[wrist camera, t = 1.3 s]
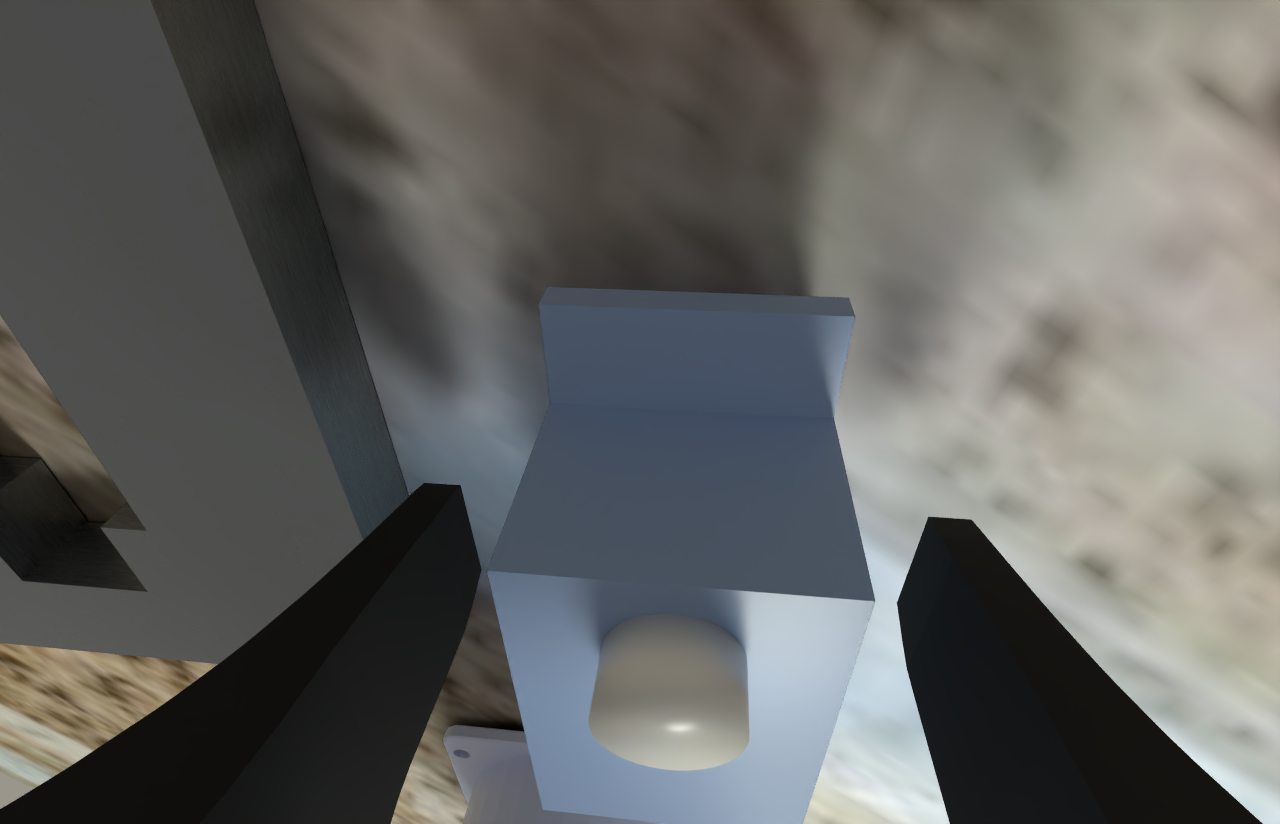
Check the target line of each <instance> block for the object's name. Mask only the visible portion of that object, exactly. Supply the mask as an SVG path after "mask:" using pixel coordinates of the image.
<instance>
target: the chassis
mask: <svg viewBox="0 0 1280 824" xmlns="http://www.w3.org/2000/svg"><path fill="white" fill-rule="evenodd" d="M0 315H1V317H2V318H3V319H4V321H5V322H6V324H7V325H8V327H9V328H10V330H11V331H12V333H13V334H14V336H15V337H16V339H17V340H18V342H19V343H20V345H21V346H22V347H23V349H24V350H25V352H26V353H27V355H28V356H29V358H30V359H31V361H32V362H33V364H34V365H35V367H36V368H37V370H38V371H39V373H40V374H41V375H42V377H43V378H44V380H45V381H46V383H47V384H48V386H49V387H50V389H51V390H52V392H53V393H54V395H55V396H56V398H57V399H58V401H59V402H60V403H61V405H62V406H63V408H64V409H65V411H66V412H67V414H68V415H69V417H70V418H71V420H72V421H73V423H74V424H75V426H76V427H77V429H78V430H79V431H80V433H81V434H82V436H83V437H84V439H85V440H86V442H87V443H88V445H89V446H90V448H91V449H92V451H93V452H94V454H95V455H96V457H97V458H98V459H99V461H100V462H101V464H102V465H103V467H104V468H105V470H106V471H107V473H108V474H109V476H110V477H111V479H112V480H113V482H114V483H115V485H116V486H117V487H118V489H119V490H120V492H121V493H122V495H123V496H124V498H125V499H126V501H127V503H126V504H125V505H124V506H123V507H121V508H120V509H119V510H118V511H117V512H116V513H115V514H114V515H113V516H112V517H111V518H110V519H109V520H108V521H107V522H106V523H100V522H87V520H86V519H85V518H84V516H83V515H82V514H81V512H80V511H79V510H78V508H77V507H76V506H75V504H74V503H73V502H72V500H71V499H70V498H69V496H68V495H67V494H66V492H65V491H64V490H63V488H62V487H61V486H60V484H59V483H58V482H57V480H56V479H55V478H54V476H53V475H52V474H51V472H50V471H49V470H48V468H47V467H46V466H45V464H44V463H43V461H42V460H41V459H35V458H20V457H5V456H0V643H8V644H18V645H28V646H39V647H49V648H59V649H70V650H80V651H90V652H101V653H111V654H121V655H132V656H142V657H152V658H163V659H173V660H183V661H194V662H204V663H214V664H219V663H221V662H222V661H223V660H224V659H226V658H227V657H228V656H230V655H231V654H232V653H233V652H235V651H236V650H237V649H238V648H240V647H241V646H242V645H243V644H245V643H246V642H247V641H248V640H250V639H251V638H252V637H253V636H255V635H256V634H257V633H258V632H259V631H261V630H262V629H263V628H264V627H265V626H267V625H268V624H269V623H270V622H271V621H272V620H274V619H275V618H276V617H277V616H278V615H280V614H281V613H282V612H283V611H284V610H286V609H287V608H288V607H289V606H290V605H291V604H293V603H294V602H295V601H296V600H297V599H299V598H300V597H301V596H302V595H303V594H304V593H305V592H307V591H308V590H309V589H310V588H311V587H312V586H313V585H315V584H316V583H317V582H318V581H319V580H320V579H321V578H322V577H323V576H324V575H326V574H327V573H328V572H329V571H330V570H331V569H332V568H333V567H334V566H335V565H336V564H338V563H339V562H340V561H341V560H342V559H343V558H344V557H345V556H346V555H347V554H349V553H350V552H351V551H352V550H353V549H354V548H355V547H356V546H357V545H358V544H359V543H360V542H361V541H362V540H364V539H365V538H366V537H367V536H368V535H369V534H370V533H371V532H372V531H373V530H374V529H375V528H376V527H377V526H378V525H379V524H380V523H382V522H383V521H384V520H385V519H386V518H387V517H388V516H389V515H390V514H391V513H392V512H393V511H394V510H395V509H396V508H397V507H398V506H399V505H400V504H402V503H403V502H404V501H405V500H406V499H407V498H408V497H409V496H408V493H407V490H406V487H405V484H404V480H403V477H402V474H401V471H400V468H399V465H398V461H397V458H396V455H395V452H394V449H393V445H392V442H391V439H390V436H389V433H388V429H387V426H386V423H385V420H384V417H383V414H382V410H381V407H380V404H379V401H378V398H377V394H376V391H375V388H374V385H373V382H372V378H371V375H370V372H369V369H368V366H367V363H366V359H365V356H364V353H363V350H362V347H361V343H360V340H359V337H358V334H357V331H356V327H355V324H354V321H353V318H352V315H351V312H350V308H349V305H348V302H347V299H346V296H345V292H344V289H343V286H342V283H341V280H340V276H339V273H338V270H337V267H336V264H335V261H334V257H333V254H332V251H331V248H330V245H329V241H328V238H327V235H326V232H325V229H324V225H323V222H322V219H321V216H320V213H319V210H318V206H317V203H316V200H315V197H314V194H313V190H312V187H311V184H310V181H309V178H308V174H307V171H306V168H305V165H304V162H303V159H302V155H301V152H300V149H299V146H298V143H297V139H296V136H295V133H294V130H293V127H292V124H291V120H290V117H289V114H288V111H287V108H286V104H285V101H284V98H283V95H282V92H281V88H280V85H279V82H278V79H277V76H276V73H275V69H274V66H273V63H272V60H271V57H270V53H269V50H268V47H267V44H266V41H265V37H264V34H263V31H262V28H261V25H260V22H259V18H258V15H257V12H256V9H255V6H254V2H253V0H0Z"/></svg>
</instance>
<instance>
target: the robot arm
mask: <svg viewBox="0 0 1280 824" xmlns="http://www.w3.org/2000/svg"><path fill="white" fill-rule="evenodd" d="M480 573H481V566H480V562H479V558H478V554H477V550H476V546H475V542H474V538H473V534H472V530H471V526H470V522H469V518H468V514H467V510H466V506H465V502H464V498H463V494H462V490H461V486H460V485H447V484H432V483H423V484H422V485H421V486H420V487H419V488H418V489H417V490H416V491H415V492H413V493H412V494H411V495H410V496H409V497H408V498H407V499H406V500H405V501H404V502H403V503H402V504H400V505H399V506H398V507H397V508H396V509H395V510H394V511H393V512H392V513H391V514H390V515H389V516H388V517H387V518H386V519H385V520H384V521H383V522H382V523H380V524H379V525H378V526H377V527H376V528H375V529H374V530H373V531H372V532H371V533H370V534H369V535H368V536H367V537H366V538H365V539H364V540H362V541H361V542H360V543H359V544H358V545H357V546H356V547H355V548H354V549H353V550H352V551H351V552H350V553H349V554H347V555H346V556H345V557H344V558H343V559H342V560H341V561H340V562H339V563H338V564H336V565H335V566H334V567H333V568H332V569H331V570H330V571H329V572H328V573H327V574H326V575H324V576H323V577H322V578H321V579H320V580H319V581H318V582H317V583H316V584H315V585H313V586H312V587H311V588H310V589H309V590H308V591H307V592H305V593H304V594H303V595H302V596H301V597H300V598H299V599H297V600H296V601H295V602H294V603H293V604H291V605H290V606H289V607H288V608H287V609H286V610H284V611H283V612H282V613H281V614H280V615H278V616H277V617H276V618H275V619H274V620H272V621H271V622H270V623H269V624H268V625H267V626H265V627H264V628H263V629H262V630H261V631H259V632H258V633H257V634H256V635H255V636H253V637H252V638H251V639H250V640H248V641H247V642H246V643H245V644H243V645H242V646H241V647H240V648H238V649H237V650H236V651H235V652H233V653H232V654H231V655H230V656H228V657H227V658H226V659H224V660H223V661H222V662H221V663H219V664H218V665H217V666H215V667H214V668H213V669H211V670H210V671H209V672H207V673H206V674H204V675H203V676H202V677H200V678H199V679H198V680H196V681H195V682H194V683H192V684H191V685H190V686H188V687H187V688H185V689H184V690H183V691H181V692H180V693H179V694H177V695H176V696H175V697H173V698H172V699H170V700H169V701H167V702H166V703H165V704H163V705H162V706H160V707H159V708H158V709H156V710H155V711H153V712H152V713H150V714H149V715H147V716H146V717H144V718H143V719H141V720H140V721H138V722H137V723H135V724H133V725H132V726H130V727H129V728H127V729H126V730H124V731H123V732H121V733H120V734H118V735H117V736H115V737H114V738H112V739H111V740H109V741H108V742H106V743H105V744H103V745H102V746H100V747H99V748H97V749H96V750H94V751H93V752H91V753H90V754H88V755H87V756H85V757H84V758H82V759H81V760H79V761H78V762H76V763H75V764H73V765H72V766H70V767H69V768H67V769H65V770H64V771H62V772H61V773H59V774H57V775H56V776H54V777H52V778H51V779H49V780H48V781H46V782H44V783H43V784H41V785H39V786H38V787H36V788H35V789H33V790H31V791H30V792H28V793H26V794H25V795H23V796H22V797H20V798H19V799H17V800H15V801H13V802H12V803H10V804H8V805H7V806H5V807H3V808H2V809H0V824H391V820H392V817H393V814H394V810H395V807H396V804H397V801H398V798H399V795H400V792H401V789H402V786H403V784H404V781H405V778H406V775H407V773H408V770H409V767H410V765H411V762H412V760H413V757H414V755H415V752H416V750H417V747H418V745H419V743H420V740H421V738H422V735H423V733H424V730H425V728H426V725H427V723H428V720H429V718H430V716H431V713H432V711H433V708H434V706H435V703H436V701H437V698H438V696H439V694H440V691H441V689H442V686H443V684H444V681H445V679H446V676H447V674H448V671H449V669H450V666H451V664H452V661H453V659H454V656H455V654H456V651H457V649H458V646H459V644H460V641H461V639H462V636H463V634H464V631H465V628H466V625H467V621H468V618H469V614H470V611H471V607H472V604H473V600H474V596H475V592H476V588H477V584H478V581H479V577H480ZM897 606H898V613H899V620H900V627H901V635H902V641H903V647H904V654H905V660H906V666H907V671H908V674H909V678H910V682H911V686H912V689H913V693H914V697H915V700H916V704H917V708H918V711H919V715H920V719H921V722H922V726H923V729H924V733H925V736H926V740H927V744H928V747H929V751H930V754H931V758H932V761H933V765H934V769H935V772H936V776H937V779H938V783H939V786H940V790H941V793H942V797H943V801H944V804H945V808H946V811H947V815H948V818H949V822H950V824H1262V823H1261V822H1260V821H1259V820H1258V819H1257V818H1256V817H1255V816H1254V815H1252V814H1251V813H1250V812H1249V811H1248V810H1247V809H1246V808H1245V807H1244V806H1243V805H1241V804H1240V803H1239V802H1238V801H1237V800H1236V799H1235V798H1234V797H1233V796H1232V795H1231V794H1229V793H1228V792H1227V791H1226V790H1225V789H1224V788H1223V787H1222V786H1221V785H1220V784H1218V783H1217V782H1216V781H1215V780H1214V779H1213V778H1212V777H1211V776H1210V775H1209V774H1208V773H1206V772H1205V771H1204V770H1203V769H1202V768H1201V767H1200V766H1199V765H1198V764H1197V763H1195V762H1194V761H1193V760H1192V759H1191V758H1190V757H1189V756H1188V755H1187V754H1186V753H1185V752H1184V751H1183V750H1182V749H1181V748H1180V747H1179V746H1178V745H1177V744H1176V743H1175V742H1174V741H1172V740H1171V739H1170V738H1169V737H1168V736H1167V735H1166V734H1165V733H1164V732H1163V731H1162V730H1161V729H1160V728H1159V727H1158V726H1157V725H1156V724H1155V723H1154V722H1153V721H1152V720H1151V719H1150V718H1149V717H1148V716H1147V715H1146V714H1145V713H1144V712H1143V711H1142V710H1141V709H1140V708H1139V706H1138V705H1137V704H1136V703H1135V702H1134V701H1133V700H1132V699H1131V698H1130V697H1129V696H1128V695H1127V694H1126V693H1125V692H1124V691H1123V690H1122V689H1121V688H1120V687H1119V686H1118V685H1117V684H1116V683H1115V682H1114V681H1113V680H1112V679H1111V678H1110V677H1109V676H1108V675H1107V674H1106V673H1105V671H1104V670H1103V669H1102V668H1101V667H1100V666H1099V665H1098V664H1097V663H1096V662H1095V661H1094V660H1093V659H1092V657H1091V656H1090V655H1089V654H1088V653H1087V652H1086V651H1085V650H1084V649H1083V648H1082V646H1081V645H1080V644H1079V643H1078V642H1077V641H1076V640H1075V639H1074V638H1073V637H1072V635H1071V634H1070V633H1069V632H1068V631H1067V630H1066V629H1065V628H1064V627H1063V625H1062V624H1061V623H1060V622H1059V621H1058V620H1057V619H1056V618H1055V617H1054V615H1053V614H1052V613H1051V612H1050V611H1049V610H1048V609H1047V607H1046V606H1045V605H1044V604H1043V603H1042V602H1041V601H1040V599H1039V598H1038V597H1037V596H1036V595H1035V594H1034V592H1033V591H1032V590H1031V589H1030V588H1029V587H1028V585H1027V584H1026V583H1025V582H1024V581H1023V580H1022V578H1021V577H1020V576H1019V575H1018V574H1017V573H1016V571H1015V570H1014V569H1013V568H1012V567H1011V565H1010V564H1009V563H1008V562H1007V561H1006V560H1005V558H1004V557H1003V556H1002V555H1001V554H1000V553H999V551H998V550H997V549H996V548H995V547H994V545H993V544H992V543H991V542H990V541H989V540H988V538H987V537H986V536H985V535H984V534H983V533H982V531H981V530H980V529H979V528H978V527H977V526H976V524H975V523H974V522H973V521H972V520H969V519H954V518H939V517H928V520H927V522H926V525H925V528H924V531H923V533H922V536H921V539H920V542H919V544H918V547H917V550H916V552H915V555H914V558H913V561H912V563H911V566H910V569H909V572H908V574H907V577H906V580H905V583H904V585H903V588H902V591H901V594H900V596H899V599H898V602H897ZM443 743H444V746H445V748H446V751H447V753H448V756H449V758H450V761H451V764H452V766H453V769H454V771H455V774H456V776H457V779H458V781H459V784H460V786H461V789H462V791H463V794H464V797H465V799H466V802H467V804H468V807H467V811H466V814H465V818H464V821H463V824H664V823H655V822H647V821H638V820H629V819H620V818H611V817H603V816H594V815H585V814H576V813H567V812H559V811H550V810H543V808H542V804H541V800H540V795H539V791H538V787H537V783H536V778H535V774H534V770H533V766H532V761H531V757H530V753H529V748H528V744H527V740H526V736H525V732H523V731H514V730H504V729H494V728H484V727H475V726H465V725H454V726H451V727H449V728H448V729H447V730H446V733H445V736H444V739H443Z"/></svg>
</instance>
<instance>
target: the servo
mask: <svg viewBox="0 0 1280 824" xmlns="http://www.w3.org/2000/svg"><path fill="white" fill-rule="evenodd" d="M538 305H539V314H540V322H541V331H542V339H543V348H544V356H545V365H546V373H547V382H548V390H549V399H550V405H549V408H548V410H547V413H546V416H545V418H544V421H543V424H542V426H541V429H540V432H539V434H538V437H537V440H536V442H535V445H534V448H533V450H532V453H531V455H530V458H529V461H528V463H527V466H526V469H525V471H524V474H523V477H522V479H521V482H520V485H519V487H518V490H517V493H516V495H515V498H514V500H513V503H512V506H511V508H510V511H509V514H508V516H507V519H506V522H505V524H504V527H503V530H502V532H501V535H500V537H499V540H498V543H497V545H496V548H495V551H494V553H493V556H492V559H491V561H490V564H489V567H488V569H487V573H488V578H489V582H490V586H491V590H492V595H493V599H494V603H495V608H496V612H497V616H498V620H499V625H500V629H501V633H502V637H503V642H504V646H505V650H506V655H507V659H508V663H509V667H510V672H511V676H512V680H513V684H514V689H515V693H516V697H517V702H518V706H519V710H520V714H521V719H522V723H523V727H524V731H525V736H526V740H527V744H528V748H529V753H530V757H531V761H532V766H533V770H534V774H535V778H536V783H537V787H538V791H539V795H540V800H541V804H542V808H543V810H550V811H559V812H567V813H576V814H585V815H594V816H603V817H611V818H620V819H629V820H638V821H647V822H655V823H664V824H803V822H804V818H805V815H806V812H807V809H808V806H809V803H810V800H811V797H812V794H813V791H814V788H815V785H816V782H817V779H818V776H819V773H820V769H821V766H822V763H823V760H824V757H825V754H826V751H827V748H828V745H829V742H830V739H831V736H832V733H833V730H834V727H835V724H836V720H837V717H838V714H839V711H840V708H841V705H842V702H843V699H844V696H845V693H846V690H847V687H848V684H849V681H850V678H851V675H852V671H853V668H854V665H855V662H856V659H857V656H858V653H859V650H860V647H861V644H862V641H863V638H864V635H865V632H866V629H867V626H868V622H869V619H870V616H871V613H872V610H873V607H874V604H875V598H874V593H873V589H872V584H871V580H870V576H869V571H868V567H867V562H866V558H865V553H864V549H863V545H862V540H861V536H860V531H859V527H858V523H857V518H856V514H855V509H854V505H853V501H852V496H851V492H850V487H849V483H848V479H847V474H846V470H845V465H844V461H843V457H842V452H841V448H840V443H839V439H838V434H837V430H836V426H835V421H834V416H835V411H836V406H837V402H838V397H839V392H840V387H841V383H842V378H843V373H844V368H845V363H846V359H847V354H848V349H849V344H850V340H851V335H852V330H853V325H854V321H855V314H854V311H853V309H852V306H851V303H850V300H849V298H844V297H817V296H789V295H761V294H733V293H705V292H677V291H649V290H621V289H593V288H565V287H547V289H546V291H545V293H544V295H543V297H542V298H541V300H540V302H539V304H538Z"/></svg>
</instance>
